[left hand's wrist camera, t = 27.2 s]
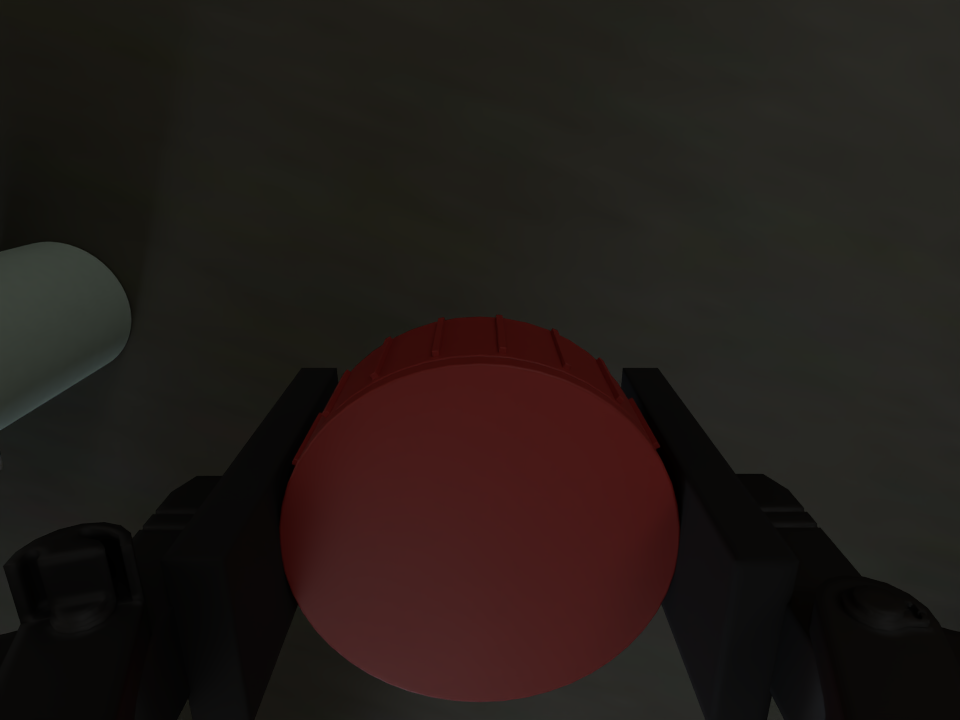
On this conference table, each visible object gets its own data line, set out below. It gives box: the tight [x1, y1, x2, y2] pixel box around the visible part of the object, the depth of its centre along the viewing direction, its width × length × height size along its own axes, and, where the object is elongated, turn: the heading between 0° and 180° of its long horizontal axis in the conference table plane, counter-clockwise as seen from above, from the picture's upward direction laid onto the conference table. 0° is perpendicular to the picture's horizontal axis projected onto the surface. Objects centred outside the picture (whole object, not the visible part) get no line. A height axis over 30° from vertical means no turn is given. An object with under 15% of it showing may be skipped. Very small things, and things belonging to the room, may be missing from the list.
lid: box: [279, 315, 680, 702], centre depth 11 cm, size 6×6×2 cm
